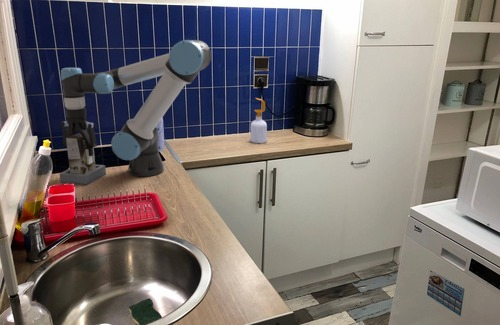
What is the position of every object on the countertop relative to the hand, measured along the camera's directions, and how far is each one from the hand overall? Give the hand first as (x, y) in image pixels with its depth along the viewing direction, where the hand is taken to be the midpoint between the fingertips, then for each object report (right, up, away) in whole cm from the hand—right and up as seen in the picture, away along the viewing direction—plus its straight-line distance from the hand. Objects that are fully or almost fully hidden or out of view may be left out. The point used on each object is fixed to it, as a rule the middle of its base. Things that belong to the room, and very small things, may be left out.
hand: (82, 162), depth 169 cm
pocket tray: (0, -7, +2) cm, 7 cm away
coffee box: (0, -5, +1) cm, 5 cm away
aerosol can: (+21, +7, +45) cm, 50 cm away
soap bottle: (+74, +12, +63) cm, 98 cm away
